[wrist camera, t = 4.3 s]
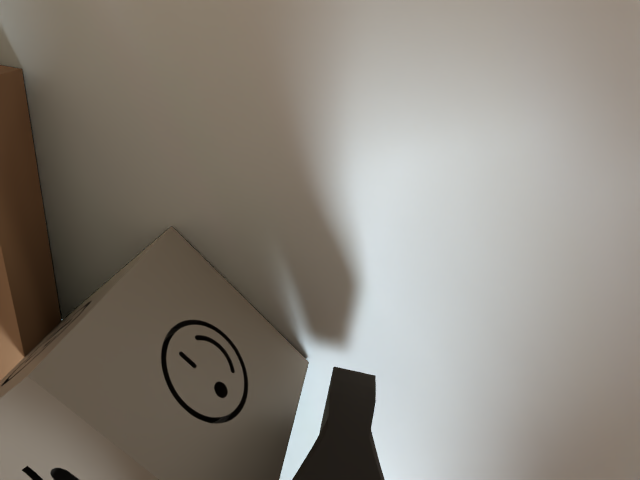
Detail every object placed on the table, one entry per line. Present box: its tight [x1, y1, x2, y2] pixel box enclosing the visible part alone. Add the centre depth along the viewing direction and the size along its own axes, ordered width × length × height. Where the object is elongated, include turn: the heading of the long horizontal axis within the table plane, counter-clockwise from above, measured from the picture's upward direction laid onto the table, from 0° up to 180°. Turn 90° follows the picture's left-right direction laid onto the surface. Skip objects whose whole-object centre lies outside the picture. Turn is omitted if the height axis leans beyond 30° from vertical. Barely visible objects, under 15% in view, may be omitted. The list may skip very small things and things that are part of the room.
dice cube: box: [0, 226, 309, 480], centre depth 11 cm, size 5×5×5 cm
